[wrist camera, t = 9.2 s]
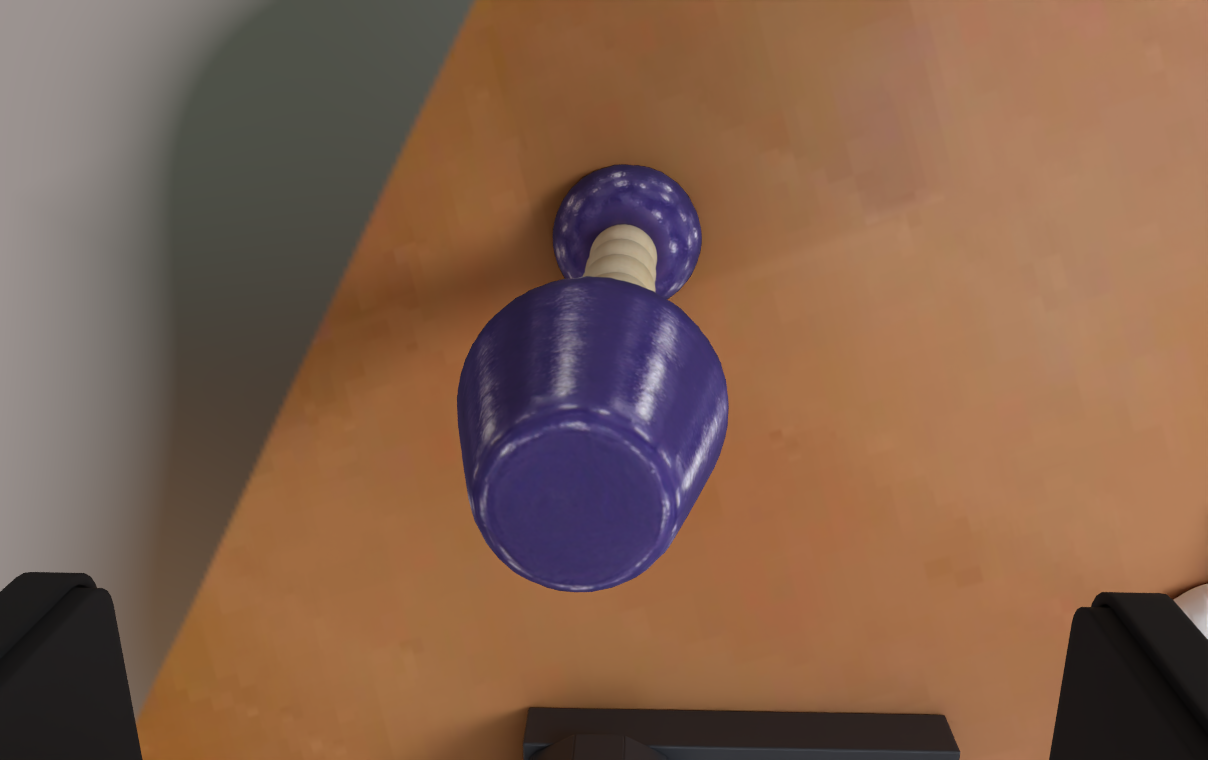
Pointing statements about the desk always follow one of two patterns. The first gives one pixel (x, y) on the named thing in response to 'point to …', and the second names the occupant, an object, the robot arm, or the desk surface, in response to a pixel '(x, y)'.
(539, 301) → the toy lamp
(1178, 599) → the white flat figure
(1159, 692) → the robot arm
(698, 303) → the desk surface
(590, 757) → the scale
